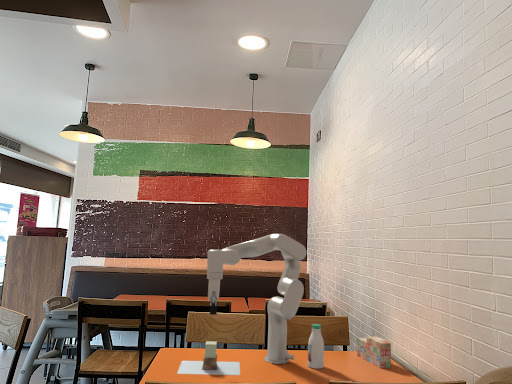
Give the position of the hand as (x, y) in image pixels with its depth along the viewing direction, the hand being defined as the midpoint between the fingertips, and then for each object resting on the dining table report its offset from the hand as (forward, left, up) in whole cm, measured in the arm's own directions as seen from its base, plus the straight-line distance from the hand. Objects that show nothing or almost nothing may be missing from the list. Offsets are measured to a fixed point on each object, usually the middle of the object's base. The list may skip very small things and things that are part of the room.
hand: (213, 312), depth 185 cm
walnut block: (0, 0, -25) cm, 25 cm away
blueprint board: (0, 0, -26) cm, 26 cm away
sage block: (0, 0, -20) cm, 20 cm away
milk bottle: (-46, -24, -26) cm, 58 cm away
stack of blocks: (-73, -45, -26) cm, 89 cm away
